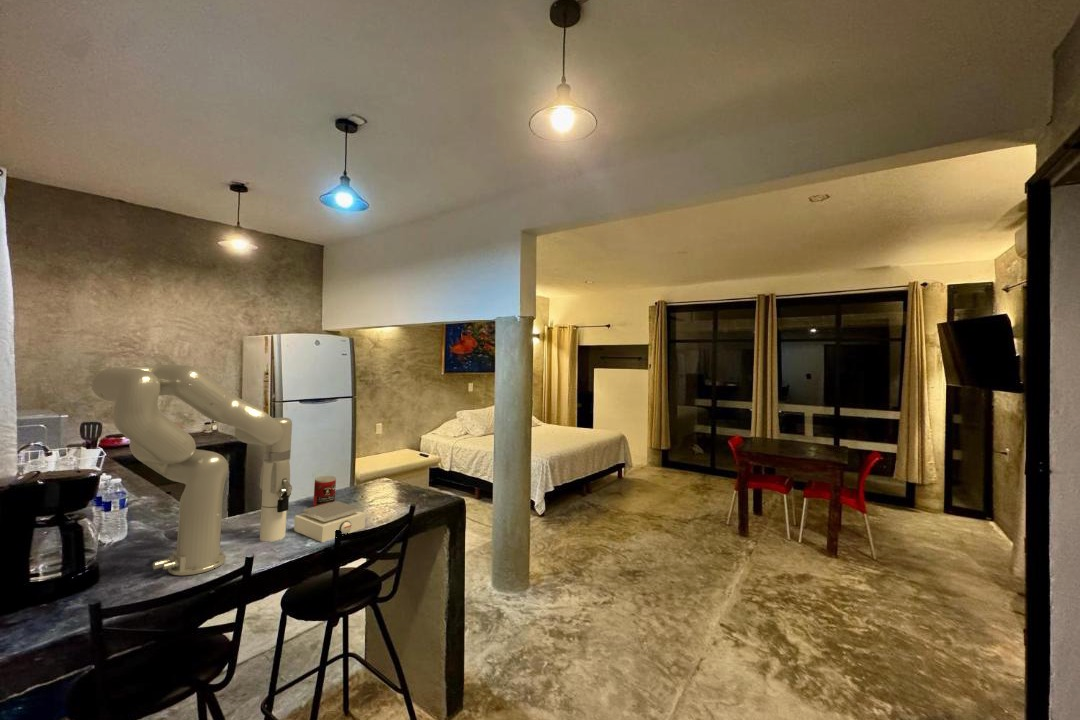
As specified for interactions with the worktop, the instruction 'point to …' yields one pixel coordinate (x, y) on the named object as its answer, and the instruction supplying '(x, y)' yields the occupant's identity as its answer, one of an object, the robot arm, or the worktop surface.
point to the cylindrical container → (271, 510)
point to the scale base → (328, 526)
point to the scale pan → (330, 511)
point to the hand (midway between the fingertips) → (274, 508)
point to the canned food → (324, 490)
